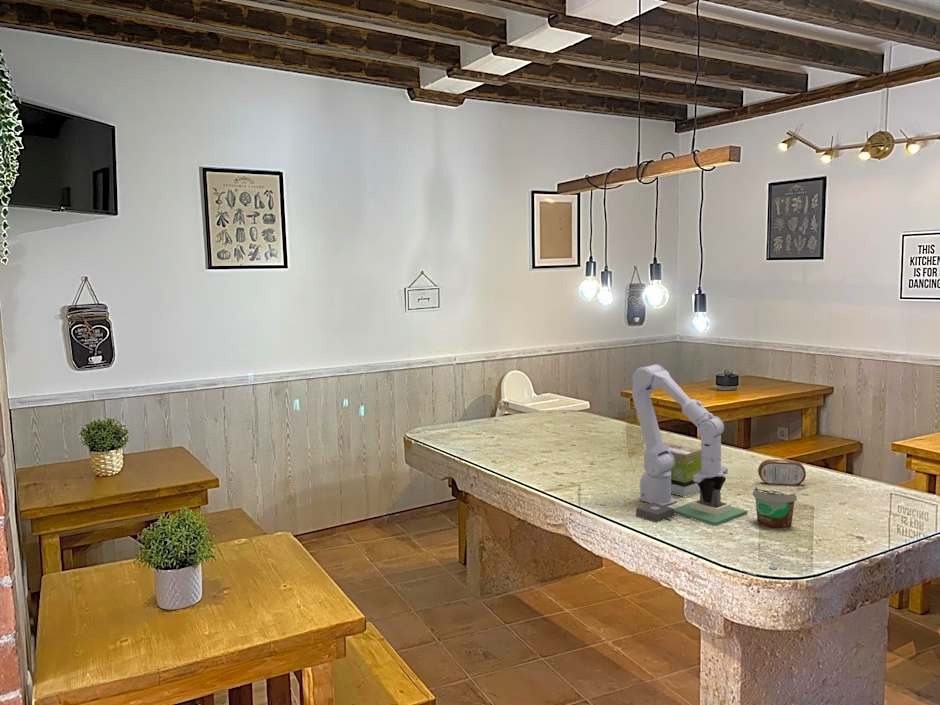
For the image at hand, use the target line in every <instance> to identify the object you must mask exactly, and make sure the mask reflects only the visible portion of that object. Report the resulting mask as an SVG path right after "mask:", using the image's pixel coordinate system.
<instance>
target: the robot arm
mask: <svg viewBox="0 0 940 705" xmlns="http://www.w3.org/2000/svg"><path fill="white" fill-rule="evenodd" d="M631 379H632V388H631V390H632V391H631V397H632V401H633V404H634V406H635V411H636V413H637V419H638V421H639V425H640V429H641V432H642V436H643V439H644V443H645V450H644V452H643V459H644V460H643V461H644V463H643V469H644V470H645V472H644V473H643V474H641V476H640V480H639V481H640V482H639V483H640V484H639V489H640V490H639V492H640V493H639V498H638V501H640V500H641V502H644V501H645V502H644V503H647V502H648V503H647V504H650V503H657V504H660V505H664V506H667V505H670V504H671V505H672V504H674V503H677V502H678V500H677V499H674V498H672V494H671V470H672V469H673V468H674V466H675V459H674V457H673V455H672V454H671V453H670V451H669V448H668V447H667V446H666V445H665V444H664V440H663V437H662V434H661V430H660V427H659V424H658V420H657V416H656V412H655V409H654V405H653V401H652V398H651V395H652V393H653V391H655V389H657V390H658V389H659V390H663V391H664V392H665V393H666V394H668V396H670V397H671V398H672V399H673V400H674V401H675V402H677V404H679V406H681V412H682V414H683V415H684V416H685V417H686V418H687V419H689V421H691V423H692V424H694V425H695V427H697V432H698V435H699V436H700V440H701V441H700V444H701V446H700V450H701V471H699V472H698V473H697V474H696V475H693V481H694V482H697V484H698V485H699V487H700V490H701V493H702V496H703V500H704V502H707V503H711V499H712V490H713V488H715V489H719V490H720V491H721V490H722V488H723V486H724V483H725V482H726V478H727V477H726V476H724V475H728V474H729V472H728V471H729V468H728V467H725V466H721V465H722V456H721V455H722V435H721V434H723V433H724V431H725V424H724V421H723V420H722V419H721V418H720V417H719V416H715V415H714V414H713V413H712V412H709V410H707V408H705V406H703V402H702V401H701V400H697V399H695V398H694V399H693V398H692V399H691V398H690V397H689V396H688V395H687V394H686V393H685V391H683V389H682V388H681V386H680V385H678V384H677V383H676V382H675V380H674V379H673V378H672V377H671V375H670V372H669V371H668V370H666V369H665V368H664V367H663V366H662V365H660V364H654V363H653V364H651V365H647V366H641V367H638V368H637V369H636V370H635V371H634V372H633V374H632V376H631Z"/></svg>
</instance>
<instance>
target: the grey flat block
mask: <svg viewBox="0 0 940 705" xmlns="http://www.w3.org/2000/svg"><path fill="white" fill-rule="evenodd" d="M674 508H675V507H674ZM674 508H673V507H669V506H667V505H665V506H664V505H660V504H657V503H647V504H645V505H641V506H639V507H638V506H637V507H636V508H635V509H636V510H635V515H638V516H637V517H639V516H641V517H640V518H642V517H644V518H643V519H645V518H647V519H646V520H649V519H650V520H649V521H652V520H653V521H652V522H655V521H656V522H655V523H659V522H662V521H664V520H663V519H665V520H666V519H668V521H670V522H672V521H673V519H672V518H673V517H672V516H674V517H675V514H674ZM669 517H671V518H669ZM661 520H662V521H661ZM671 520H672V521H671ZM658 521H659V522H658Z"/></svg>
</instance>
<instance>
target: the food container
mask: <svg viewBox="0 0 940 705" xmlns="http://www.w3.org/2000/svg"><path fill="white" fill-rule="evenodd" d="M752 496H753V497H754V499H755V506H756V508H755V510H756V521H757V524H759V525H761V526H762V525H763V527H765V526H766V527H765V528H771V529H788V528H791V527H792V523H793V517H794V516H793V515H794V507H795V502H796V501H798V499H797V495H796V493H795V492H793V493H791V494H786V493H783V492H779V491H776V490H763V489H760V488H758V486H757V485H755V486H754V488H753V491H752Z"/></svg>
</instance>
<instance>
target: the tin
mask: <svg viewBox="0 0 940 705" xmlns="http://www.w3.org/2000/svg"><path fill="white" fill-rule="evenodd" d="M757 472H758V477H759V478H760V479H761V481H762V482H764V483H765V484H768V485H775V486H791V485H795V486H799V485H800V484H802V483H803V482H804V481H805V479H806V476H807V473H806V469H805V467H804V464H802V463H801V462H799V461H797V460H792V459H791V460H790V459H789V460H787V459H786V460H785V459H766V460H764V461H762V462H761V463H760V464H759V466H758V469H757Z"/></svg>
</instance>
